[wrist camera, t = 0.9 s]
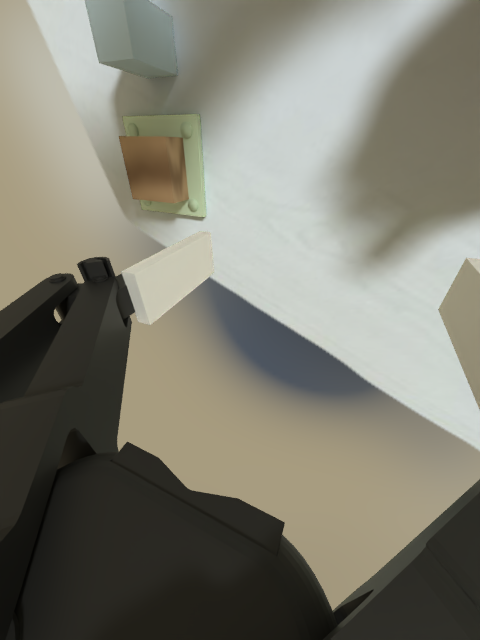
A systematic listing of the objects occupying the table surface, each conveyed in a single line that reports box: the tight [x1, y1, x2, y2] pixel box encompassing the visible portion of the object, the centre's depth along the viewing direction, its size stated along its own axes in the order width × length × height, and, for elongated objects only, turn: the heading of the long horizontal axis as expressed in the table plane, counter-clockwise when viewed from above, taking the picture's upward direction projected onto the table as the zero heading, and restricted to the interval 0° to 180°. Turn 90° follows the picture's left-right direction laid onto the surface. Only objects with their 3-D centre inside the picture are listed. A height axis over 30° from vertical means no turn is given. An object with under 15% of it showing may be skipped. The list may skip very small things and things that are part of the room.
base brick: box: [119, 136, 189, 203], centre depth 36 cm, size 8×8×4 cm
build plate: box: [122, 114, 206, 217], centre depth 38 cm, size 13×13×1 cm
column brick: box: [85, 0, 178, 78], centre depth 28 cm, size 5×5×8 cm
